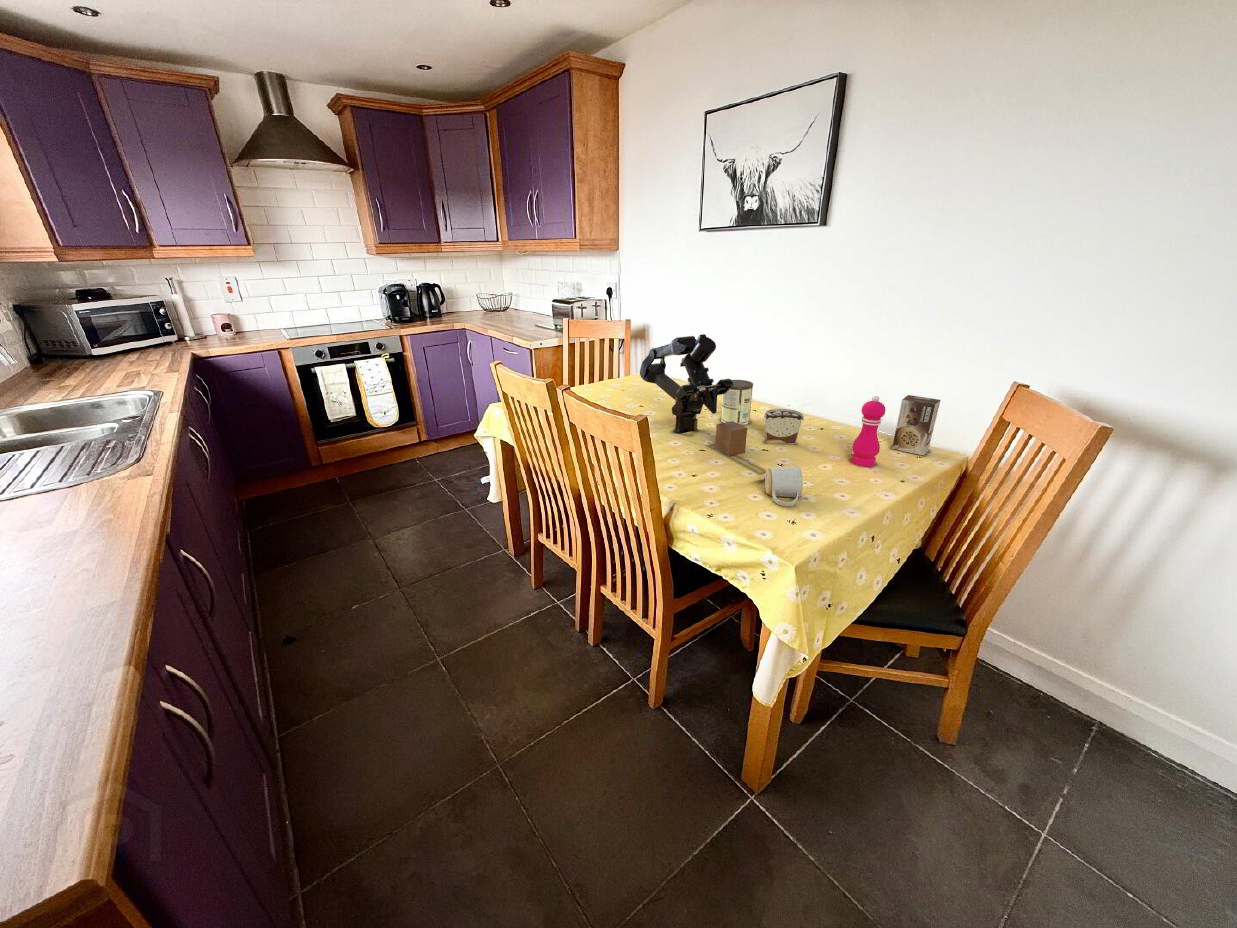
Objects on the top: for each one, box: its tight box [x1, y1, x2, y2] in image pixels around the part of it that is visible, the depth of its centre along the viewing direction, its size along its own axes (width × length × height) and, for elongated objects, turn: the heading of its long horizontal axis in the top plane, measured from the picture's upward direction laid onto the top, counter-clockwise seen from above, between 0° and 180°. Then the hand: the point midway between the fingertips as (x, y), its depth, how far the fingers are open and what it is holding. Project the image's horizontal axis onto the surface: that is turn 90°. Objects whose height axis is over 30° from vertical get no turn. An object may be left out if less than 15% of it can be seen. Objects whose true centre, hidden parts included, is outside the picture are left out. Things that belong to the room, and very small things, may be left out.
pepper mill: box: [851, 395, 886, 467], centre depth 142 cm, size 7×7×20 cm
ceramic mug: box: [764, 466, 804, 508], centre depth 124 cm, size 11×8×8 cm
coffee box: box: [891, 394, 941, 456], centre depth 151 cm, size 9×6×16 cm
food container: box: [763, 408, 805, 445], centre depth 161 cm, size 12×6×10 cm, turn 84°
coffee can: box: [720, 379, 754, 426], centre depth 179 cm, size 10×10×14 cm
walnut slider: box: [714, 421, 748, 457], centre depth 150 cm, size 7×6×8 cm
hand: (714, 413), depth 155 cm, fingers closed
